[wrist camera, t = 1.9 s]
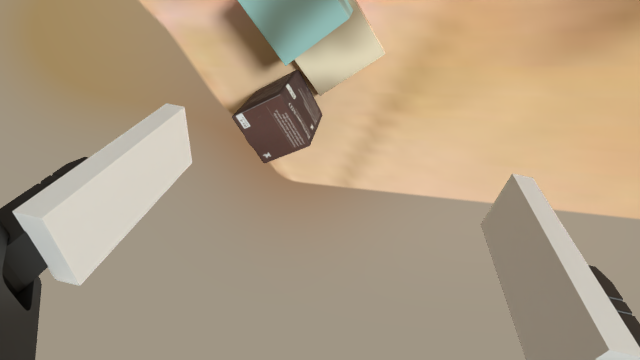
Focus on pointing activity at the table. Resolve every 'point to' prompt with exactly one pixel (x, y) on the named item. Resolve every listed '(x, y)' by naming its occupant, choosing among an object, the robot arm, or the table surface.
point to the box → (279, 117)
